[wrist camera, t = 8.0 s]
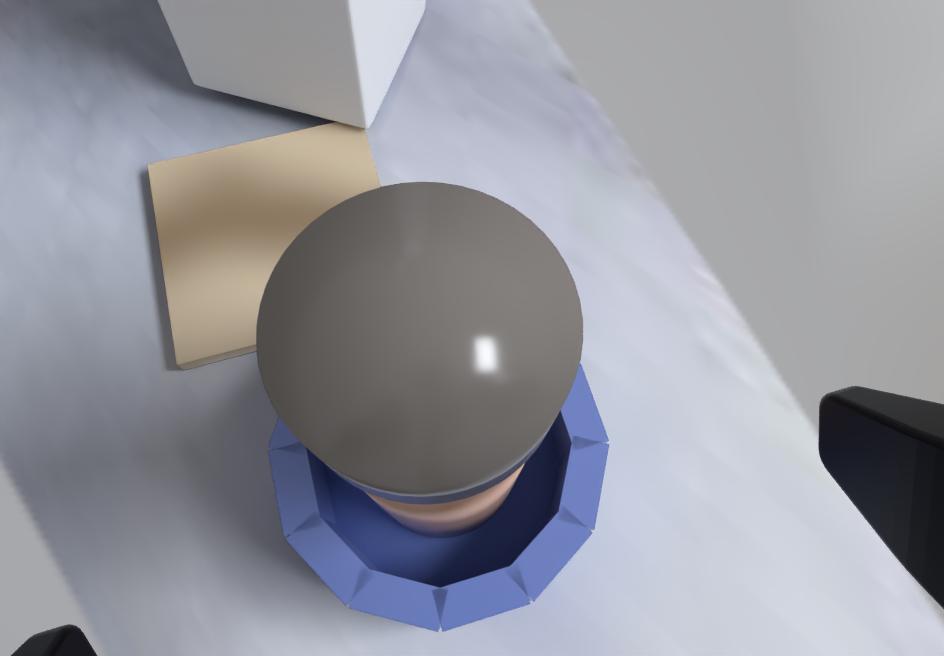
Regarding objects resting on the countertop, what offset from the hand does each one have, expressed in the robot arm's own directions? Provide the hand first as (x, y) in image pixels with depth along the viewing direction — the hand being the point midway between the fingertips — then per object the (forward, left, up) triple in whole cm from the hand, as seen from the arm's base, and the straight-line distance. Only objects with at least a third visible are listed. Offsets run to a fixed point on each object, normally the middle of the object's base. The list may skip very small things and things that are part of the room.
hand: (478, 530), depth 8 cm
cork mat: (+13, +3, -14) cm, 19 cm away
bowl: (+3, 0, -14) cm, 14 cm away
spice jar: (+3, 0, -13) cm, 13 cm away
